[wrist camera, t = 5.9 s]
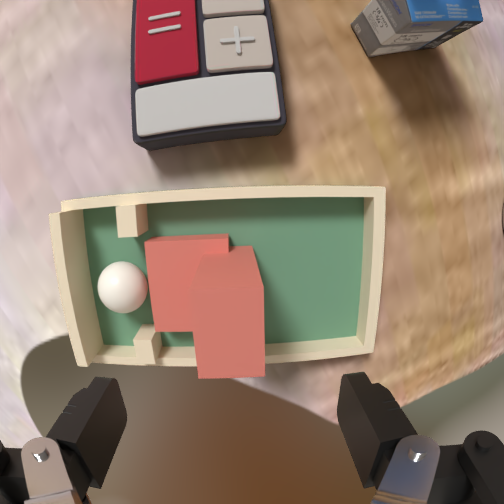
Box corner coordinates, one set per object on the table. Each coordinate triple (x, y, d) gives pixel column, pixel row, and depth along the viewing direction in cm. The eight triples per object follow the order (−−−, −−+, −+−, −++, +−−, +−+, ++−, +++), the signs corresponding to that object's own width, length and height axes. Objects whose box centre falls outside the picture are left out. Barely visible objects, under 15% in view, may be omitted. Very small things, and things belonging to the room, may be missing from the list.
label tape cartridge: (366, 59, 23) (441, -1, 11) (348, 24, 22) (408, -49, 10) (435, 49, 23) (514, 8, 11) (419, 17, 22) (489, -34, 10)
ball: (122, 270, 20) (83, 266, 21) (130, 325, 21) (92, 316, 22) (154, 257, 24) (116, 254, 25) (160, 305, 25) (122, 300, 26)
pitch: (370, 186, 25) (397, 187, 20) (361, 337, 28) (381, 363, 24) (77, 198, 24) (47, 203, 19) (100, 346, 27) (80, 373, 22)
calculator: (264, -35, 18) (289, 123, 20) (260, -9, 22) (280, 135, 24) (131, -17, 17) (129, 143, 20) (143, 6, 22) (145, 151, 24)
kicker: (251, 232, 24) (263, 266, 15) (254, 317, 26) (265, 390, 16) (151, 236, 24) (102, 271, 14) (161, 320, 26) (127, 390, 16)
